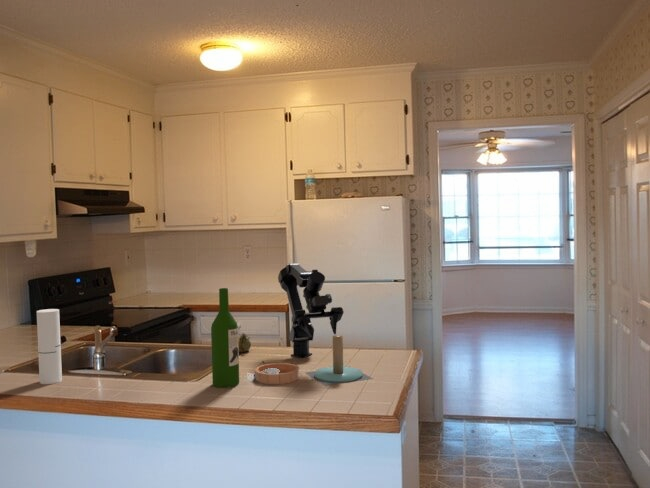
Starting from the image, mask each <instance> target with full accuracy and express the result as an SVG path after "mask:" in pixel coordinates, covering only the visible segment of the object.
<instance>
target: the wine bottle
mask: <svg viewBox="0 0 650 488" xmlns="http://www.w3.org/2000/svg"><path fill="white" fill-rule="evenodd" d="M218 299H219V301H218V302H219V303H218V304H219V305H218V307H219V311H218V313H217V315H215V318H214V320H213V321H212V323H211V327H210V330H211V331H210V334H211V337H210V339H211V340H210V341H211V342H210V343H211V372H212V373H211V374H212V376H211V377H212V378H211V379H212V385H213V387H215V388H221V389H222V388H223V389H227V388H232V387H233V388H234V387H236V386H238V385H240V360H239V359H240V357H239V356H240V355H239V354H240V353H239V347H238V336H239V326H238V322H237V321H236V320H235V318H234V317H233V315H232V313H231V312H230V305H229V288H228V287H224V288H219V289H218Z"/></svg>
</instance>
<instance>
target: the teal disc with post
mask: <svg viewBox="0 0 650 488" xmlns="http://www.w3.org/2000/svg"><path fill="white" fill-rule="evenodd" d="M363 374H364V372H363V371H362V370H361V369H359V368H357V367H351V366H350V367H349V366H344V336H343V335H341V334H334V335H332V366H327V367H322V368H319V369H316V370H315V372H314V377H315V378H316V379H318V380H321V381H325V382H337V383H338V382H348V383H351V382H350V381H355V380H358V379H360V378H361V377H362V376H363ZM316 379H315V380H316ZM355 382H356V381H355Z"/></svg>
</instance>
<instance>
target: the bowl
mask: <svg viewBox="0 0 650 488" xmlns="http://www.w3.org/2000/svg"><path fill="white" fill-rule="evenodd" d="M268 368H277V369H279V370H280V372H279V374H268V373H262V372H261V371H263V370H265V369H268ZM255 378H256V380H257V382H258V383H260V384H265V385H266V384H267V385H283V384H289V383H293V382H295V381H298V380H299V378H300V367H299V366H298V365H297V364H293V363H287V362H273V363H265V364H262V365H259V366H256V367H255V368H254V379H255ZM256 380H255V381H256Z"/></svg>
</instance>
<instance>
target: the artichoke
mask: <svg viewBox="0 0 650 488" xmlns="http://www.w3.org/2000/svg"><path fill="white" fill-rule="evenodd" d="M250 338H251V337H250V336H249V335H248V334H247V333H243V332H242V333H241V335H238V347H239V352H240V353H245V352H248V351H249V350H251V347H252V343H251V341H250V340H251V339H250Z"/></svg>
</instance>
